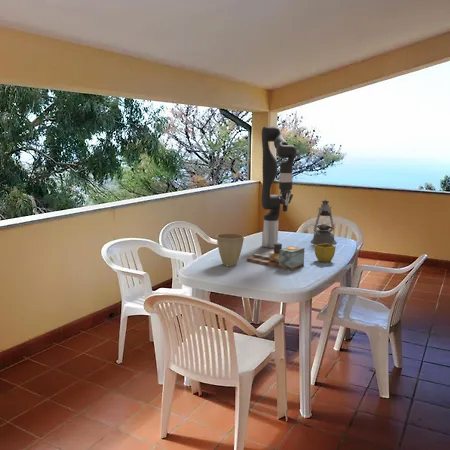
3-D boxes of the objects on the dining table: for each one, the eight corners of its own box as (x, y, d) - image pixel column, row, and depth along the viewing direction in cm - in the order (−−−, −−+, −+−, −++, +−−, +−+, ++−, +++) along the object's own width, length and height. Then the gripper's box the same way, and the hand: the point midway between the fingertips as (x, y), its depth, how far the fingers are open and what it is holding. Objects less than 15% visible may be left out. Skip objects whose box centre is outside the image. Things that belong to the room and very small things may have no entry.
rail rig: (246, 260, 260) (246, 243, 258) (259, 256, 269) (259, 240, 267) (291, 270, 241) (292, 252, 239) (303, 266, 250) (304, 248, 248)
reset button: (286, 253, 246) (286, 248, 246) (290, 252, 249) (291, 247, 249) (293, 255, 244) (293, 249, 243) (297, 253, 247) (297, 248, 246)
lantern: (313, 237, 323) (315, 195, 318) (341, 241, 311) (343, 197, 306) (302, 242, 309) (303, 197, 303) (330, 246, 297) (332, 200, 292)
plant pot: (238, 269, 243) (238, 239, 240) (212, 266, 248) (212, 237, 245) (247, 262, 257) (247, 234, 254) (222, 259, 262) (222, 232, 259)
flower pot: (323, 263, 255) (323, 247, 253) (313, 260, 262) (313, 244, 261) (335, 261, 259) (336, 246, 257) (325, 258, 266) (326, 243, 265)
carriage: (269, 260, 253) (269, 243, 252) (275, 258, 258) (275, 242, 256) (279, 263, 249) (280, 245, 247) (285, 260, 253) (286, 243, 252)
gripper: (286, 179, 268) (285, 209, 271) (273, 181, 258) (272, 211, 261) (297, 180, 263) (296, 210, 266) (284, 182, 253) (284, 213, 256)
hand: (284, 211), depth 264 cm, fingers closed
